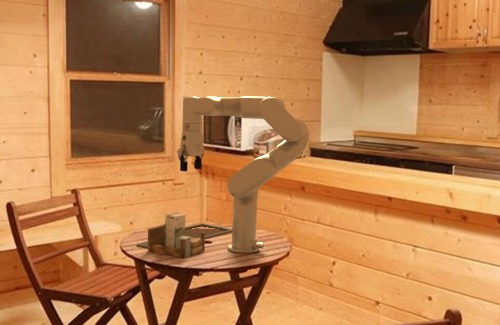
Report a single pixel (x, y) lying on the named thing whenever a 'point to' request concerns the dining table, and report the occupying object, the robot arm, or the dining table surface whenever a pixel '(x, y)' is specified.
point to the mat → (143, 244)
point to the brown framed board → (206, 231)
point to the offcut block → (187, 244)
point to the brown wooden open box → (157, 243)
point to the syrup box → (174, 228)
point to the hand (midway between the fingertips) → (190, 170)
